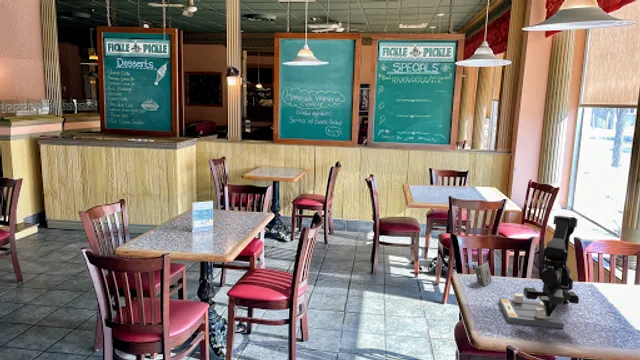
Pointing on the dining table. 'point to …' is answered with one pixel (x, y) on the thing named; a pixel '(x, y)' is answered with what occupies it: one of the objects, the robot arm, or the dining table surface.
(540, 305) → the tab
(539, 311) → the tab
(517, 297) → the beige cube
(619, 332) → the dining table surface
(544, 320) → the switch panel
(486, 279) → the electrical switch
